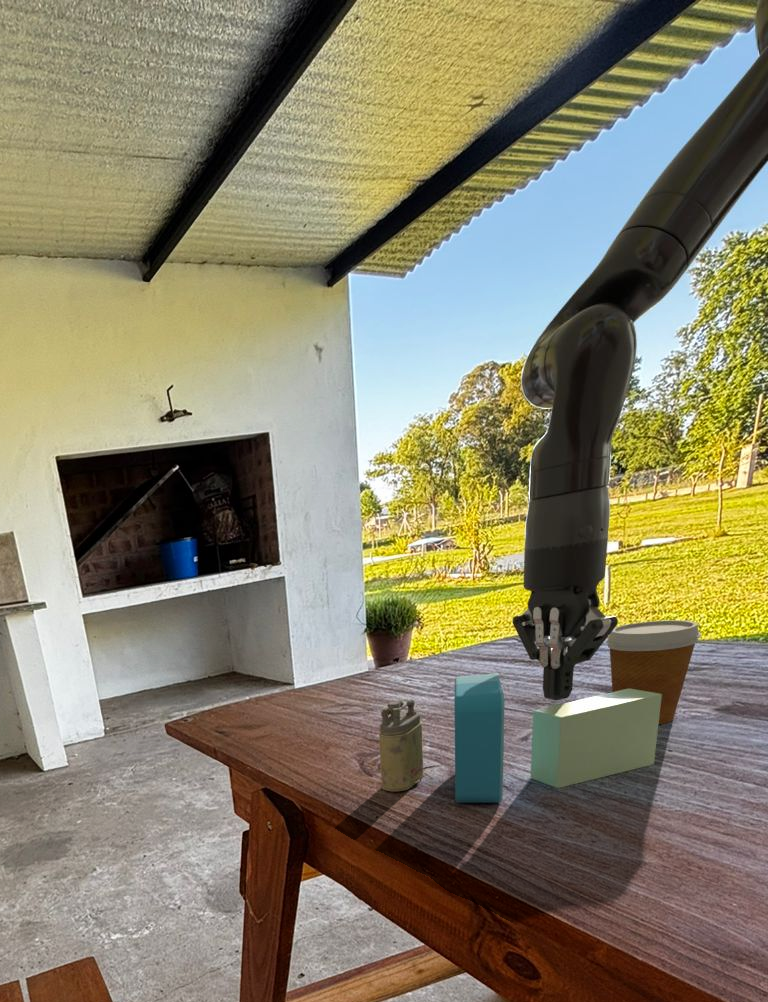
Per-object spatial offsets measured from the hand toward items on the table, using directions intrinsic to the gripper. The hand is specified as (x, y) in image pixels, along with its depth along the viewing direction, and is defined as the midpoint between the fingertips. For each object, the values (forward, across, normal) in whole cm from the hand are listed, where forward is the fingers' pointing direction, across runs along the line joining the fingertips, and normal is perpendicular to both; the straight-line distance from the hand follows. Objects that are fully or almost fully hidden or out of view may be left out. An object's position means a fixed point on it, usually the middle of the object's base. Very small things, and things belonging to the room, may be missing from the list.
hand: (556, 697), depth 71 cm
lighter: (+8, +3, +18) cm, 20 cm away
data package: (+8, -3, +12) cm, 14 cm away
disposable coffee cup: (+8, +6, -18) cm, 20 cm away
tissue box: (+8, -6, 0) cm, 9 cm away
